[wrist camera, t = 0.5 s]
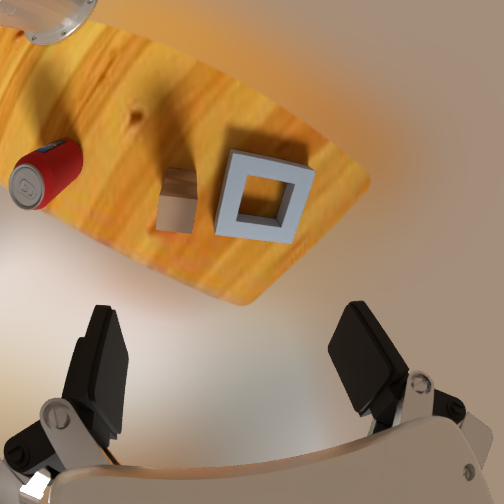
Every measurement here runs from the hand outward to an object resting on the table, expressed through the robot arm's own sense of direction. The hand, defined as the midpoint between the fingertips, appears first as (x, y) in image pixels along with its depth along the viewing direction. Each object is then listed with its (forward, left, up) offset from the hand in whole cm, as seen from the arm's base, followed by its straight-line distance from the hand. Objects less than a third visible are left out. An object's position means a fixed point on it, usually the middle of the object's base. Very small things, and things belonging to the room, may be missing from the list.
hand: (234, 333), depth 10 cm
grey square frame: (+9, -4, -31) cm, 32 cm away
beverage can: (-21, -2, -31) cm, 37 cm away
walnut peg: (-3, -4, -31) cm, 31 cm away
